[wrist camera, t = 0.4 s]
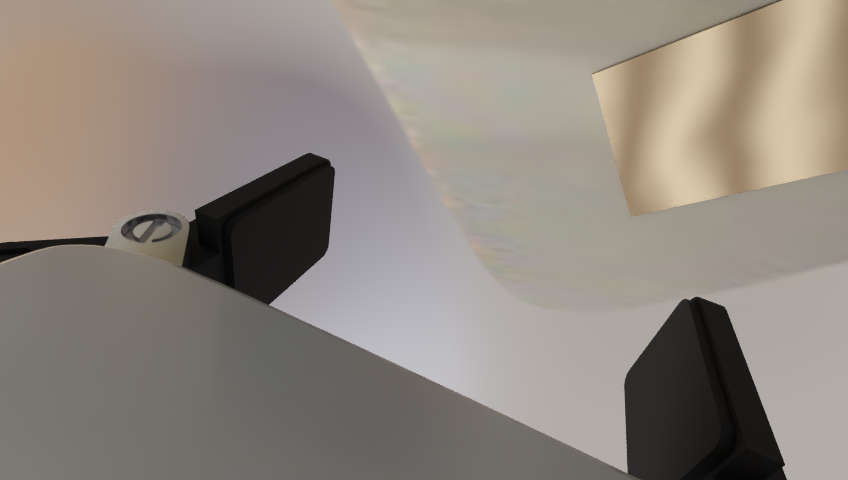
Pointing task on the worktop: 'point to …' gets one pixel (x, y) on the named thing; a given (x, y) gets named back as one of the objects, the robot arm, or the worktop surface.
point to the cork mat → (731, 106)
